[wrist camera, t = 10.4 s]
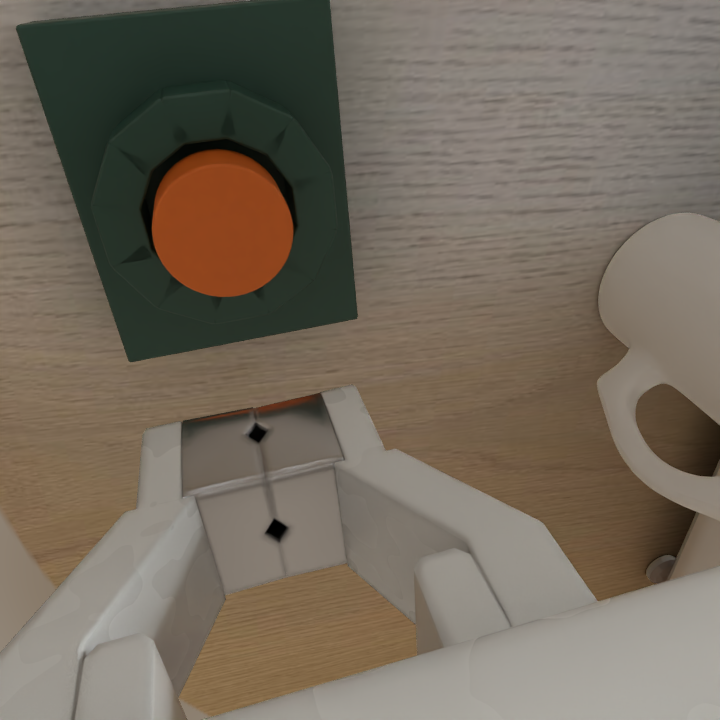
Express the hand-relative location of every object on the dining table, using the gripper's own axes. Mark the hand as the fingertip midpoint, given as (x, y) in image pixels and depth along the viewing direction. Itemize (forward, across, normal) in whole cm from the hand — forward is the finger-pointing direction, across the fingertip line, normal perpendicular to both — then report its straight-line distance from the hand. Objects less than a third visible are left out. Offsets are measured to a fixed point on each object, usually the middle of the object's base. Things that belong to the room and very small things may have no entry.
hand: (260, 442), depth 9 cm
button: (+10, 0, 0) cm, 10 cm away
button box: (+14, 0, 0) cm, 14 cm away
